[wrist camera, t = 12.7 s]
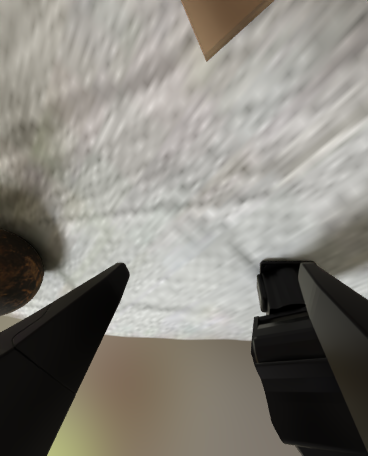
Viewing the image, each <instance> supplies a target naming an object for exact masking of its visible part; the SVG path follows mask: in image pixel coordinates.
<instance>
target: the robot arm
mask: <svg viewBox="0 0 368 456" xmlns="http://www.w3.org/2000/svg"><path fill="white" fill-rule="evenodd" d="M129 276H130V273H129V271H128V269H127V267H126V265H125V264H124V263H116V264H115V265H113V266H111V267H110V268H108V269H106V270H105V271H103V272H101V273H100V274H98V275H97V276H95V277H93V278H92V279H90V280H88V281H87V282H85V283H83V284H82V285H80V286H79V287H77V288H75V289H74V290H72V291H70V292H69V293H67V294H65V295H64V296H62V297H60V298H59V299H57V300H56V301H54V302H53V303H51V304H49V305H47V306H46V307H44V308H42V309H41V310H39V311H37V312H36V313H34V314H32V315H31V316H29V317H27V318H25V319H24V320H22V321H20V322H19V323H16V324H15V325H13V326H11V327H9V328H8V329H6V330H4V331H2V332H0V456H47V454H48V452H49V450H50V448H51V446H52V444H53V442H54V440H55V438H56V435H57V433H58V431H59V429H60V427H61V425H62V423H63V421H64V419H65V416H66V414H67V412H68V410H69V408H70V406H71V404H72V402H73V400H74V398H75V395H76V393H77V391H78V388H79V387H80V385H81V383H82V381H83V378H84V376H85V374H86V372H87V370H88V368H89V366H90V364H91V361H92V360H93V357H94V355H95V353H96V351H97V349H98V347H99V345H100V343H101V341H102V338H103V336H104V334H105V332H106V330H107V328H108V326H109V324H110V322H111V320H112V318H113V316H114V313H115V311H116V309H117V307H118V305H119V303H120V301H121V298H122V295H123V293H124V290H125V287H126V285H127V282H128V279H129ZM257 290H258V296H259V302H260V308H261V311H262V312H266V314H267V315H265V316H261V317H259V316H257V317H254V324H253V333H252V343H251V355H252V357H253V362H254V365H255V367H256V370H257V372H258V374H259V376H260V378H261V381H262V384H263V387H264V391H265V394H266V399H267V403H268V408H269V412H270V416H271V421H272V424H273V426H274V428H275V430H276V432H277V433H278V435H279V437H280V439H281V441H282V442H283V443H284V444H289V445H295V446H296V448H297V449H298V450H299V452H300V453H301V454H302V456H368V300H367V299H366V298H364V297H363V296H361V295H360V294H358V293H357V292H355V291H354V290H352V289H351V288H349V287H348V286H346V285H345V284H344V283H342V282H341V281H339V280H338V279H336V278H335V277H333V276H332V275H330V274H329V273H327V272H326V271H324V270H323V269H321V268H320V267H318V266H317V265H316V263H315V262H313V261H263V262H261V263H260V274H258V275H257Z"/></svg>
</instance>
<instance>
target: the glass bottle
mask: <svg viewBox="0 0 368 456" xmlns="http://www.w3.org/2000/svg"><path fill="white" fill-rule="evenodd" d="M43 276H44V268H43V263H42V261H41V258H40V256H39V255H38V253H37V252H36V251H35V249H34V248H33V247H32V246H31V245H30V244H28V243H27V242H26V241H25V240H23V239H22V238H20V237H18V236H17V235H15V234H13V233H10V232H8V231H5V230H1V229H0V316H1V315H5V314H8V313H11V312H13V311H15V310H17V309H19V308H21V307H23V306H24V305H25V304H27V303H28V302H29V301H30V300H31V299H32V298H33V297H34V296H35V295H36V293H37V292H38V290H39V288H40V286H41V283H42V281H43Z"/></svg>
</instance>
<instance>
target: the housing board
mask: <svg viewBox="0 0 368 456" xmlns="http://www.w3.org/2000/svg"><path fill="white" fill-rule="evenodd" d="M273 1H274V0H181V2H182V4H183V6H184V9H185V11H186V14H187V16H188V18H189V21H190V23H191V26H192V28H193V30H194V33H195V35H196V38H197V40H198V42H199V45H200V47H201V49H202V52H203V54H204V57H205V59H206V61H208V60H209V59H210V58H211V57H212V56H214V55H215V54H216V53H217V52H218V51H219V50H220V49H221V48H222V47H223V46H225V45H226V44H227V43H228V42H229V41H230V40H231V39H232V38H233V37H234V36H236V35H237V34H238V33H239V32H240V31H241V30H242V29H243V28H244V27H246V26H247V25H248V24H249V23H250V22H251V21H252V20H253V19H254V18H255V17H257V16H258V15H259V14H260V13H261V12H262V11H263V10H264V9H265V8H266V7H268V6H269V5H270V4H271V3H272V2H273Z"/></svg>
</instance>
